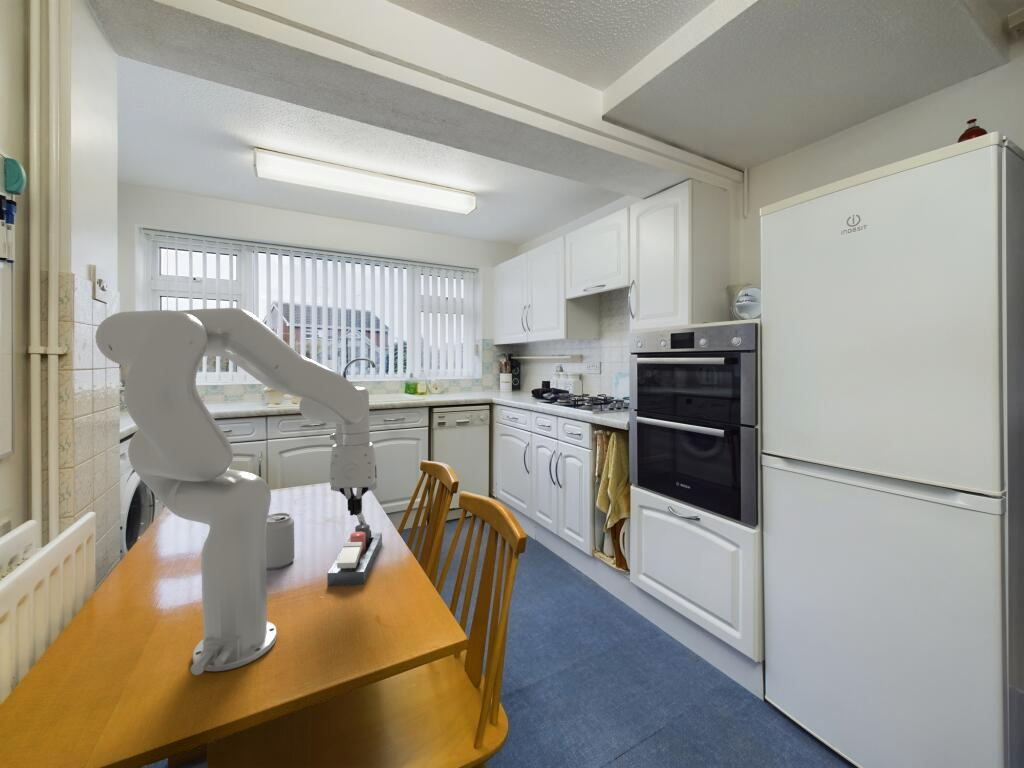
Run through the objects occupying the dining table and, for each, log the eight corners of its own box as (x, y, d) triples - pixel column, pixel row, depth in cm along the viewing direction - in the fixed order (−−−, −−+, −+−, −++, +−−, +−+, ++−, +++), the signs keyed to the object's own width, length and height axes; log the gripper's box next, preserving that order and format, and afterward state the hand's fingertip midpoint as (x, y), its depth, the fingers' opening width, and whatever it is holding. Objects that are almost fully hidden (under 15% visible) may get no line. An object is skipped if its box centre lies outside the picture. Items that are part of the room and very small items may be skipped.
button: (363, 554, 108) (363, 537, 108) (348, 555, 108) (348, 537, 107) (366, 548, 112) (366, 531, 111) (352, 548, 111) (352, 531, 111)
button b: (368, 546, 113) (368, 529, 113) (353, 546, 113) (353, 529, 112) (371, 540, 117) (370, 523, 116) (357, 540, 116) (357, 524, 116)
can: (280, 572, 104) (279, 523, 103) (253, 568, 105) (252, 520, 104) (301, 558, 111) (300, 512, 110) (275, 555, 113) (274, 509, 112)
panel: (364, 584, 99) (363, 567, 99) (327, 585, 98) (327, 568, 98) (382, 543, 121) (382, 529, 120) (352, 544, 120) (352, 530, 120)
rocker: (355, 567, 99) (355, 562, 99) (337, 568, 99) (336, 562, 98) (362, 547, 106) (362, 541, 105) (345, 547, 105) (344, 542, 105)
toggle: (368, 530, 117) (359, 506, 117) (360, 533, 117) (351, 509, 117) (370, 527, 120) (361, 503, 119) (362, 530, 119) (353, 506, 119)
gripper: (315, 442, 99) (317, 520, 101) (382, 441, 101) (383, 518, 102) (325, 436, 106) (327, 508, 108) (388, 435, 108) (389, 506, 110)
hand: (355, 513), depth 105 cm, fingers closed
